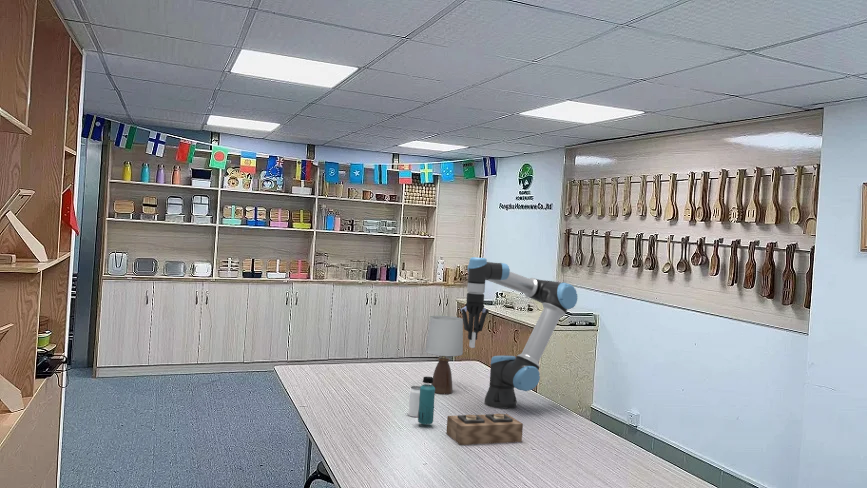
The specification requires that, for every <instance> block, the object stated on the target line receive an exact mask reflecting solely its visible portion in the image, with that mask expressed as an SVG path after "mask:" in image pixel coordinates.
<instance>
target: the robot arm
mask: <svg viewBox="0 0 867 488" xmlns="http://www.w3.org/2000/svg"><path fill="white" fill-rule="evenodd" d="M467 273H468V274H467V275H468V276H467V287H466V289H467V291H466V292H467V293H466V303H465V306H464V307H462V308H459V311H460V312H461V313H460V314H461V316H462V317H461V318H462V319H463V330H464V331H466V332H467V340H469V345H468V347H469V348H471V349H475V348H476V340H477V341H478V333H480V332H482V331H483V329H484V324H485V321H486V318H487V315H488V313H489V309H487V308H485V303H484V301H485V294H484V293H485V290H486V281H487V282H490V283H494V284H496V285H499V286H502V287H504V288H508V289H510V290H512V291H513V290H514V291H516V292H519V293H521V294H524V296H525V297H526V298H528V299H529V298H530V299H531V300H534V301H536V302H539V303H541V304H542V307H543V309H542V311H541V313H540V315H539V317H538V319H537V321H536V323H535V325H534V328H533V329H532V332H531V333H530V335H529V337H528V339H527V341H526V343H525V345H524V348H523V350H522V352H521V353H519V354H517V355H494V356H491V362H490V373H489V385H488V386H489V387H488V389H487V391H486V395H485V397H484V404H485V405H486V406H488V407H492V408H499V409H513V408H516V407H517V405H518V403H517V401H518V400H517V397H516V393H515V389H516V390H519V391H522V392H529V391H532V390H533V389H535V388H536V387H537V386H538V384H539V382H540V379H541V376H540V375H541V373H540V371H539V370H540V368H541V366H540V364H539V362H540V360H541V358H542V357H543V354H544V352H545V349H546V347H547V346H548V343H549V341H550V339H551V338H552V335H553V334H554V331H555V329H556V326H557V324H558V322H559V320H560V319H561V317H564V316H566V313H567V312H568V310H572V309H573V308H574V307H576V305H577V302H578V293H577V289H576V288H575V287H574V285H572V284H570V283H567V282H561V281H560V282H559V281H553V280H545V279H537V278H535V277H529V278H528V277H525V276H524V275H521V274H518V273H516V272H515V273H514V272H513V271H511V270H510V266H509V265H508V264H507V263H504V262H490V261H488V260H487V258H486V257H475V256H472V257H470V258H469V262H468V265H467ZM467 312H468V315H467Z"/></svg>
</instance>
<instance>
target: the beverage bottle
mask: <svg viewBox="0 0 867 488" xmlns="http://www.w3.org/2000/svg"><path fill="white" fill-rule="evenodd" d="M422 378H423V379H422V382H423V383H425V384H422V385H421V387H420V398H419V411H418V417H417V423H419V424H420V425H421V424H422V425H432V424H433V423H434V415H435V414H434V413H435V396H436V395H435V394H436V393H435V388H434V386H433V385H431V383H433V376H423V377H422Z"/></svg>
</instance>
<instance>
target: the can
mask: <svg viewBox="0 0 867 488" xmlns="http://www.w3.org/2000/svg"><path fill="white" fill-rule="evenodd" d="M421 386H422V385H421ZM421 386H418V385H412V386H410V389H409V393H408V394H409V395H408V397H409V398H408V409H407V410H408V411H407V414H408V416H409V417H412V418H418V411H419V398H420V387H421Z"/></svg>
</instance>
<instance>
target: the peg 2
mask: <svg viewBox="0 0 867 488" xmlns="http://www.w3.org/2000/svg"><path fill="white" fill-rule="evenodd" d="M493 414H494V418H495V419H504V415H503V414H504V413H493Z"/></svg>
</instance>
